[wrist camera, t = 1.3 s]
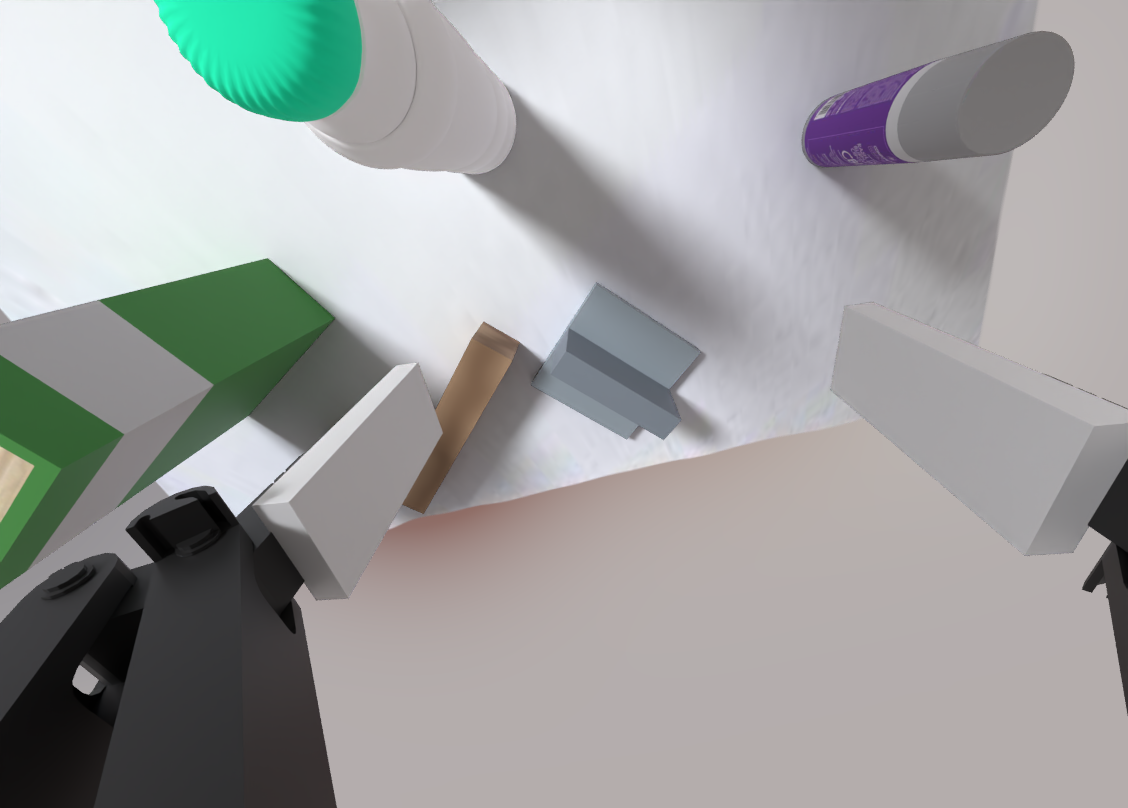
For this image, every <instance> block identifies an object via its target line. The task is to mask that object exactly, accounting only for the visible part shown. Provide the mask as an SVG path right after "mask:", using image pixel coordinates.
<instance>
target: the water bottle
mask: <svg viewBox="0 0 1128 808" xmlns="http://www.w3.org/2000/svg"><path fill="white" fill-rule="evenodd" d="M154 2H155V3H156V4H157V6H158V7H159V17H160V18H161V20H162V21H163V23H165V25H166V26H167V27H168V32H169V36H170V37H171V39H172V40H173V41H174V42H175V43H176V44H178V47H179V50H180V53H181V54H182V55H183V57H184V58H185V59H187V60H188V61H189V62H190V63H191V65H192V67H193V69H194V70H195V72H196V73H197V74H199V75H200V76H202V77H203V78H204V80H205V81H206V83H207V84H208V85H209V86H210V87H211V88H213V89H214V90H216V91H218V92H219V93H220V94H221V95H222V96H223V97H224V98H226V99H227V100H229V101H231V102H233V103H235V104H237V105H239V106H240V107H242V108H244V109H246V110H247V111H250V112H253V113H256V114H260V115H264V116H267V117H270V118H275V119H280V120H286V121H295V122H304V123H305V124H306V125H307V127H308V128H309V129H310V130H311V131H312V132H313V133H314V134H315V135H316V136H317V137H318V138H319V139H320V140H321V141H322V142H324V143H325V144H326V145H327V146H328V147H330V148H331V149H332V150H334V151H335V152H337V153H338V154H340V155H342V156H343V157H345V158H347V159H349V160H351V161H353V162H356V163H358V164H361V165H364V166H368V167H372V168H378V169H398V168H404V169H410V170H418V171H447V172H453V173H466V174H482V173H486V172H489V171H491V170H493V169H495V168H496V167H498V166H499V165H500V164H501V163H502V162H503V161H504V160H505V159H506V157H507V156H508V154H509V152H510V151H511V148H512V146H513V143H514V139H515V135H516V114H515V109H514V105H513V102H512V99H511V97H510V94H509V93H508V91H507V89H506V87H505V86H504V84H503V83H502V81H501V80H500V79H499V78H498V77H497V76H496V75H495V74H494V73H493V72H492V71H491V70H490V68H489V67H488V66H487V64H486V63H485V62H484V61H483V60H482V59H481V58H480V57H479V56H478V55H477V54H476V53H475V52H474V51H473V49H472V48H471V47H470V45H469V44H468V43H467V41H466V40H465V39H464V38H463V36H462V35H461V34H460V33H459V32H458V31H457V29H456V28H455V27H454V26H453V25H452V24H451V23H450V22H449V21H448V20H447V19H446V18H445V16H444V15H443V14H442V13H441V12H440V11H439V10H437V9H436V8H435V6H434V5H433V3H432V2H431V0H154Z"/></svg>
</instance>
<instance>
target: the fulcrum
mask: <svg viewBox="0 0 1128 808" xmlns="http://www.w3.org/2000/svg"><path fill="white" fill-rule="evenodd" d="M700 353H701V352H700V351H699V349H698V348H696V347H695V346H693V345H692V344H690V343H689V342H687V341H686V340H684V339H683V338H681V337H680V336H678V335H676V334H675V333H673V332H672V331H670V330H669V329H667V328H666V327H664V326H663V325H661V324H660V323H658V322H657V321H655V320H654V319H652V318H651V317H649V316H648V315H646V314H644V313H643V312H641V311H640V310H638V309H637V308H635V307H634V306H632V305H631V304H629V303H628V302H626V301H625V300H623V299H622V298H620V297H619V296H617V295H615V294H614V293H612V292H611V291H609V290H608V289H606V288H605V287H603V286H602V285H600V284H599V283H597V282H596V284H595V285H594V287H593V288H592V290H591V292H590V293H589V295H588V296H587V298H586V299H585V301H584V302H583V304H582V305H581V307H580V308H579V310H578V312H577V313H576V315H575V316H574V318H573V319H572V321H571V322H570V324H569V325H568V327H567V328H566V330H565V332H564V333H563V335H562V336H561V338H560V339H559V341H558V342H557V344H556V345H555V347H554V349H553V350H552V352H551V353H550V355H549V356H548V358H547V359H546V361H545V362H544V364H543V365H542V367H541V369H540V370H539V372H538V373H537V375H536V376H535V378H534V379H533V381H532V384H531V386H533V387H535V388H537V389H538V390H540V391H542V392H544V393H545V394H547V395H549V396H551V397H553V398H554V399H556V400H558V401H560V402H561V403H563V404H565V405H567V406H568V407H570V408H572V409H574V410H576V411H577V412H579V413H581V414H583V415H584V416H586V417H588V418H590V419H591V420H593V421H595V422H597V423H599V424H600V425H602V426H604V427H606V428H607V429H609V430H611V431H613V432H614V433H616V434H618V435H620V436H622V437H623V438H625V439H628V438H629V436H630V435H631V434H632V433H633V432H634V430H635V429H636V428H637V427H638V426H640V427H642V428H644V429H646V430H647V431H649V432H651V433H653V434H654V435H656V436H658V437H659V438H661V439H663V440H664V439H665V438H666V437H667V436H668V435H669V433H670V432H671V431H672V430H673V429H674V428H675V427H676V426H677V425H678V424H679V422H680V421H681V418H680V415H679V413H678V410H677V408H676V405H675V403H674V400H673V398H672V395H671V393H670V390H669V389H670V388H671V387H672V386H673V385H674V383H675V382H676V381H677V380H678V379H679V378H680V376H681V375H682V374H683V373H684V372H685V371H686V369H687V368H688V367H689V366H690V365H691V363H692V362H693V361H694V360H695V359H696V358H697V356H698V355H699V354H700Z"/></svg>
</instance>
